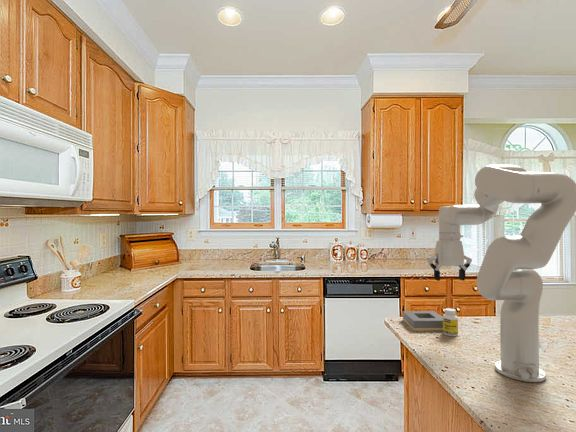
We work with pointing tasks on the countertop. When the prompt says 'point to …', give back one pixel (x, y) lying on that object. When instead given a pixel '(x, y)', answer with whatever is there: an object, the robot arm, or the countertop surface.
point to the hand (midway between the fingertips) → (449, 280)
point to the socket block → (423, 320)
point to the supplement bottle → (450, 322)
